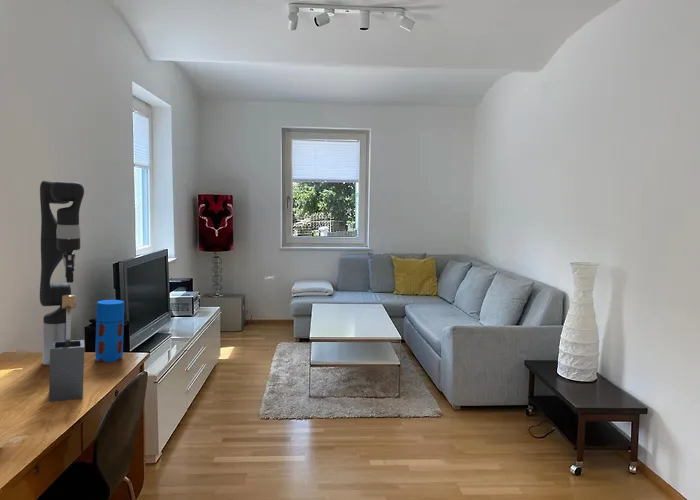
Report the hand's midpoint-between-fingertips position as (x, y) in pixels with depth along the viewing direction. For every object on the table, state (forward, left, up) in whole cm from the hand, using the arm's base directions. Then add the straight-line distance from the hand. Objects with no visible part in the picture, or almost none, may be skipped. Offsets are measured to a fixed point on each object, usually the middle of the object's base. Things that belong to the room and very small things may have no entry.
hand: (69, 280), depth 181 cm
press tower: (+15, 0, -38) cm, 41 cm away
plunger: (+15, 0, -29) cm, 32 cm away
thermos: (-25, +15, -39) cm, 48 cm away
